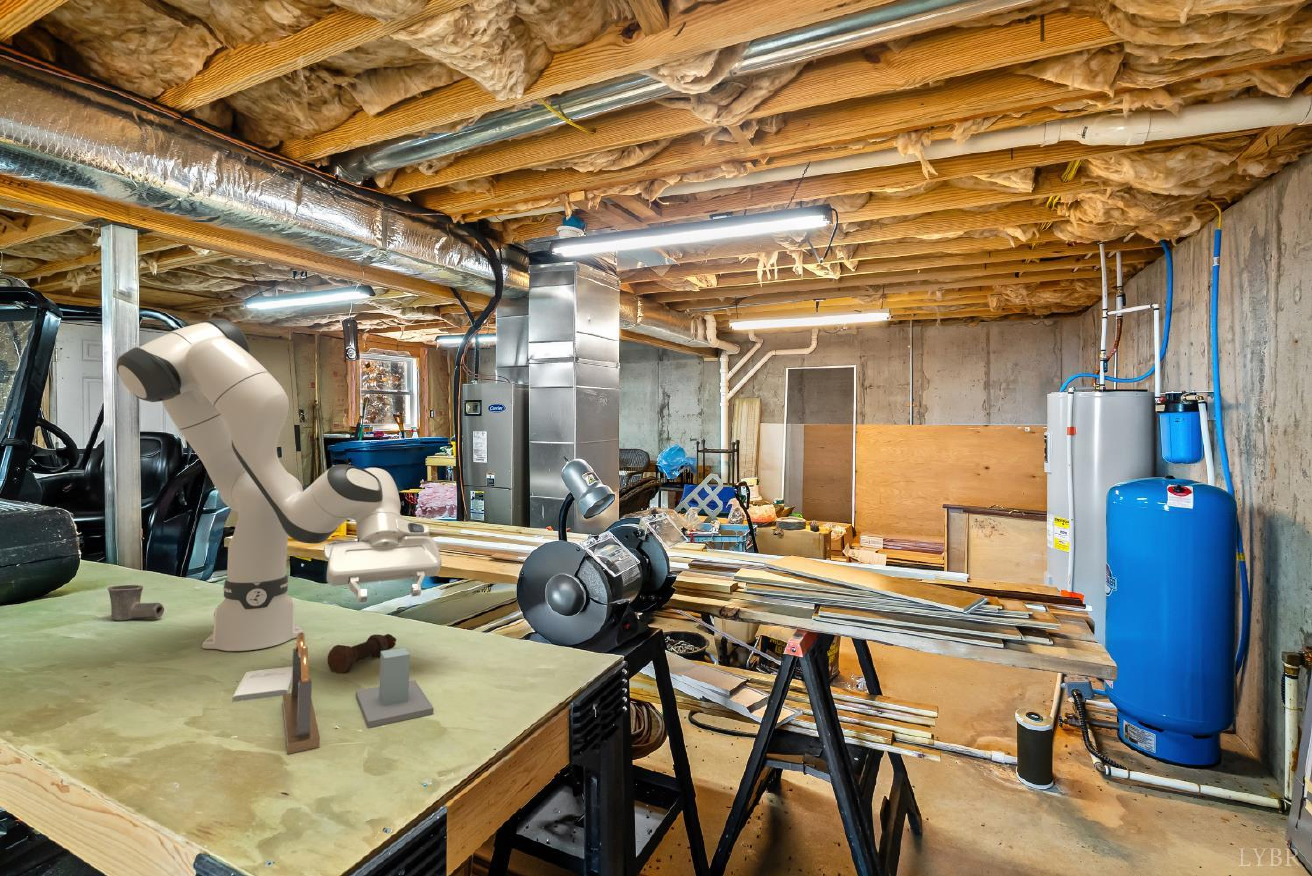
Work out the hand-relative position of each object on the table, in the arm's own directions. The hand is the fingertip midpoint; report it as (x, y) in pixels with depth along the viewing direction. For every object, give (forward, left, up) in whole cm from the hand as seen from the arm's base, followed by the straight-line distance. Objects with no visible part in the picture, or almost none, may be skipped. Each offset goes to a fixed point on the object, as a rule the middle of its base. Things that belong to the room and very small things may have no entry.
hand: (390, 597), depth 113 cm
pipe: (-74, -45, -17) cm, 88 cm away
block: (+9, -1, -15) cm, 18 cm away
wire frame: (+9, -15, -16) cm, 24 cm away
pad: (+9, -1, -16) cm, 19 cm away
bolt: (-16, -1, -17) cm, 23 cm away
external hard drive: (-11, -19, -17) cm, 28 cm away
